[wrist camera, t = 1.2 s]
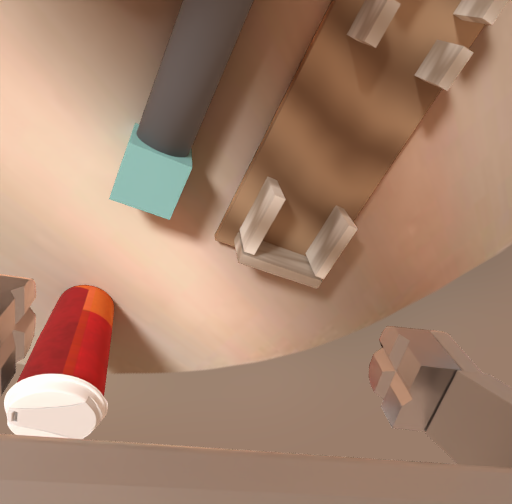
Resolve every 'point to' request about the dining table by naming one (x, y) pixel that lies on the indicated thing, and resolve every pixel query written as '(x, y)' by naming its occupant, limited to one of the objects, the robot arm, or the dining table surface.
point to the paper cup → (65, 370)
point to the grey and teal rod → (178, 105)
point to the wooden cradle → (345, 127)
